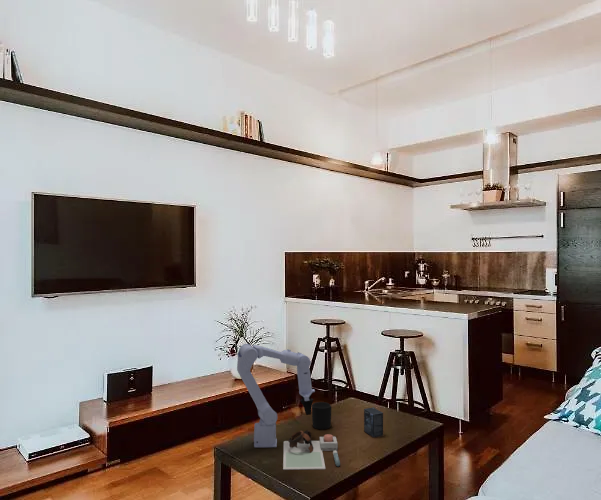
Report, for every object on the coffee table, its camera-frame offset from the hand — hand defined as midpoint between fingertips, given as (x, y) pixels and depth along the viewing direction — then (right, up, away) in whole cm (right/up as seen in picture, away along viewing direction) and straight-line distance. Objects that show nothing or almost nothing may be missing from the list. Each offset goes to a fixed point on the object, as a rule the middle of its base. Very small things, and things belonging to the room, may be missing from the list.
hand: (308, 411), depth 199 cm
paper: (-2, -11, -17) cm, 21 cm away
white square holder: (+8, -12, -10) cm, 17 cm away
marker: (+11, -11, -23) cm, 28 cm away
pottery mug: (-2, -11, -12) cm, 17 cm away
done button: (+8, -10, -10) cm, 16 cm away
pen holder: (+7, -12, +14) cm, 20 cm away
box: (+30, -12, +5) cm, 33 cm away
